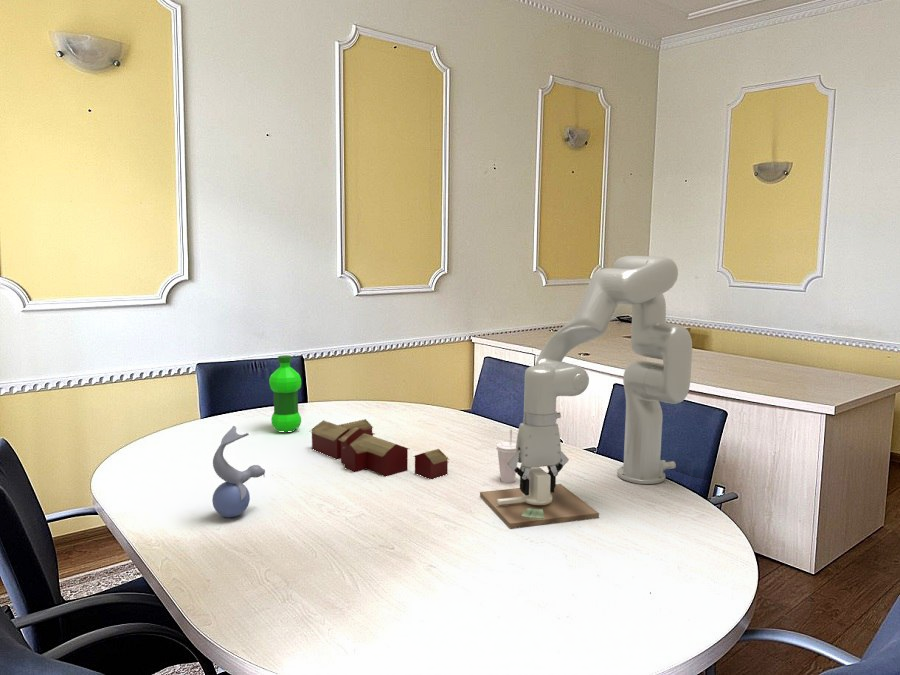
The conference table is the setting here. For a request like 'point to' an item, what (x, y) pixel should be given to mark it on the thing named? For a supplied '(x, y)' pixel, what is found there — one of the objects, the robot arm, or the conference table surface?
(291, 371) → the plastic bottle
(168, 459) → the conference table surface
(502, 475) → the smoothie
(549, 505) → the dial board
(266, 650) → the conference table surface
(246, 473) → the seal
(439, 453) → the toy houses
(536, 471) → the peg knob
